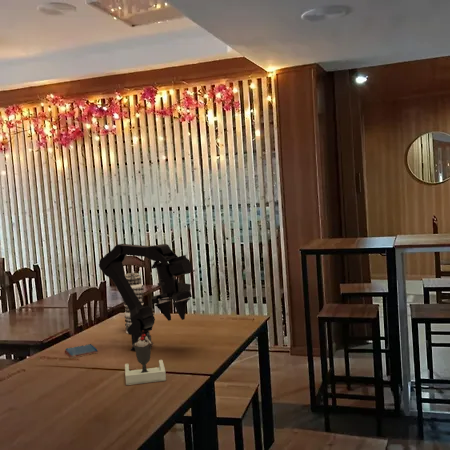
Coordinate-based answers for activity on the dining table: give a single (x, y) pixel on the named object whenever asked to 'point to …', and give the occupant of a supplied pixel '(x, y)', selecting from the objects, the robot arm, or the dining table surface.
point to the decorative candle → (136, 285)
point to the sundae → (143, 351)
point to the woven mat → (80, 351)
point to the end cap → (145, 375)
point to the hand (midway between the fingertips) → (176, 320)
